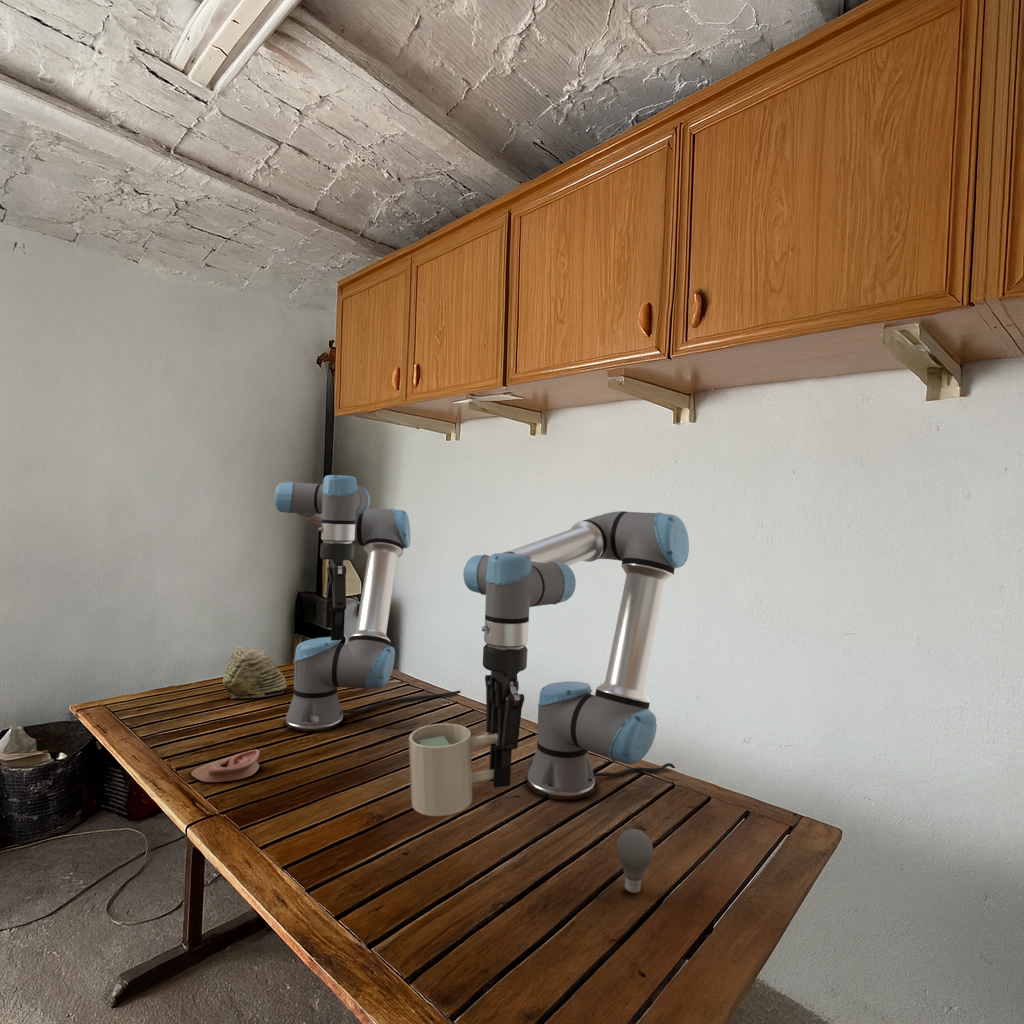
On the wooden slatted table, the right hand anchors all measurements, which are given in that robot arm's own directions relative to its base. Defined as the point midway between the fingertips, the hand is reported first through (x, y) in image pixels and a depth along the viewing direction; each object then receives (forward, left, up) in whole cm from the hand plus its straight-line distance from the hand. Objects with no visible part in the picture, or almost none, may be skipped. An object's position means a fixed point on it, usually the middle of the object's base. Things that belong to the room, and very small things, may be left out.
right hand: (499, 782), depth 108 cm
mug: (+7, 0, -2) cm, 7 cm away
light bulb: (-21, +11, -16) cm, 28 cm away
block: (+11, 0, -1) cm, 11 cm away
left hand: (+23, -51, +15) cm, 58 cm away
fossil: (+40, -112, -16) cm, 120 cm away
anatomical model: (+45, -55, -16) cm, 73 cm away
